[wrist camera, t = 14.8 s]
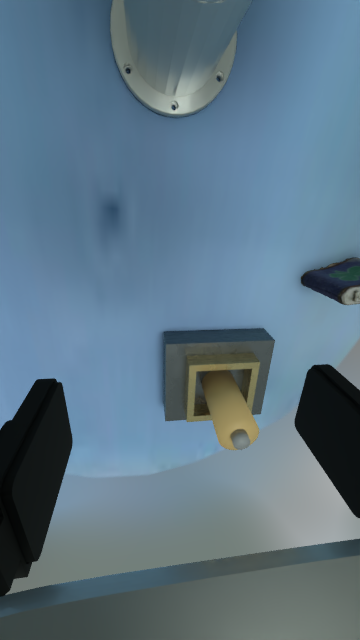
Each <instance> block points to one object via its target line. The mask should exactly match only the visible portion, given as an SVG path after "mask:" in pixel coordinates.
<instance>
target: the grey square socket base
mask: <svg viewBox="0 0 360 640" xmlns="http://www.w3.org/2000/svg"><path fill="white" fill-rule="evenodd" d="M274 343H275V340H274V339H273V338H272V337H271V336H270V335H269V334H268V333H267V331H266V330H265V329H233V330H201V331H170V332H164V412H165V421H174V420H186V421H187V422H194V421H207V420H212V418H211V415H210V411H209V408H208V405H207V402H206V398H205V395H204V392H203V388H202V380H203V378H204V376H205V375H206V374H207V373H208V372H210V371H216V370H228V371H229V372H230V373H231V374H232V375H233V377H234V379H235V381H236V383H237V385H238V387H239V389H240V391H241V393H242V395H243V397H244V399H245V401H246V403H247V405H248V407H249V409H250V411H251V413H252V415H255V414H261V410H262V404H263V399H264V394H265V389H266V384H267V379H268V373H269V368H270V363H271V358H272V353H273V348H274Z"/></svg>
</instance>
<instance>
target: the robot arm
mask: <svg viewBox="0 0 360 640" xmlns="http://www.w3.org/2000/svg"><path fill="white" fill-rule="evenodd" d="M252 1H253V0H112V6H111V12H110V33H111V41H112V48H113V52H114V56H115V60H116V63H117V66H118V68H119V71H120V74H121V76H122V78H123V79H124V81H125V83H126V85H127V87H128V88H129V89H130V91H131V92H132V93H133V95H134V96H135V97H136V98H137V99H138V100H139V101H140V102H141V103H142V104H143V105H144V106H146V107H147V108H149V109H151V110H152V111H154V112H156V113H158V114H161V115H164V116H168V117H186V116H189V115H192V114H195V113H197V112H199V111H201V110H202V109H204V108H205V107H207V106H208V105H209V104H210V103H211V102H212V101H213V100H214V99H215V98H216V96H217V95H218V94H219V92H220V91H221V90H222V88H223V86H224V85H225V83H226V81H227V79H228V77H229V74H230V71H231V69H232V66H233V62H234V58H235V53H236V44H237V28H238V26H239V25H240V23H241V21H242V19H243V17H244V15H245V14H246V12H247V10H248V8H249V6H250V4H251V2H252ZM127 69H129V70H130V71H131V73H130V74H127V73H126V70H127ZM216 78H219V79H220V82H218V81H217V80H216ZM172 106H175V107H176V110H172V108H171V107H172ZM295 427H296V429H297V431H298V432H299V434H300V436H301V437H302V438H303V440H304V441H305V443H306V444H307V446H308V447H309V449H310V450H311V452H312V453H313V455H314V456H315V458H316V459H317V461H318V462H319V464H320V465H321V467H322V468H323V470H324V471H325V473H326V474H327V475H328V477H329V479H330V480H331V481H332V483H333V484H334V486H335V487H336V489H337V490H338V492H339V493H340V495H341V496H342V498H343V499H344V501H345V502H346V504H347V505H348V507H349V508H350V510H351V511H352V512H353V514H354V515H355V516H356V517H358V518H360V390H359V389H357V388H356V387H355V386H354V385H353V384H352V383H350V382H349V381H348V380H347V379H346V378H345V377H344V376H342V375H341V374H340V373H339V372H338V371H337V370H336V369H334V368H333V367H332V366H331V365H328V364H325V365H314V366H312V367H311V369H309V370H308V372H307V375H306V379H305V383H304V387H303V391H302V394H301V398H300V402H299V406H298V410H297V413H296V417H295ZM71 449H72V434H71V428H70V423H69V418H68V412H67V407H66V401H65V396H64V391H63V386H62V383H61V382H57V381H56V379H38V380H36V381H35V383H34V385H33V386H32V388H31V390H30V391H29V393H28V395H27V396H26V398H25V399H24V401H23V403H22V404H21V406H20V408H19V409H18V411H17V413H16V414H15V416H14V418H13V419H12V420H9V421H7V422H6V423H5V424H4V425H3V426H2V428H1V430H0V640H360V539H354V540H348V541H340V542H333V543H325V544H318V545H312V546H304V547H297V548H290V549H283V550H276V551H269V552H262V553H255V554H248V555H241V556H235V557H228V558H221V559H214V560H207V561H201V562H194V563H187V564H181V565H174V566H167V567H160V568H154V569H147V570H140V571H134V572H127V573H120V574H115V575H108V576H102V577H96V578H90V579H84V580H79V581H72V582H67V583H61V584H55V585H49V586H44V587H39V588H35V589H30V590H26V591H21V592H17V593H13V594H8V595H5V594H6V593H7V592H9V591H10V588H11V585H12V582H13V579H16V578H23V577H28V574H29V571H30V567H31V564H32V562H34V561H38V559H39V557H40V554H41V552H42V548H43V544H44V541H45V538H46V534H47V531H48V528H49V524H50V521H51V517H52V514H53V511H54V507H55V504H56V500H57V497H58V493H59V490H60V486H61V483H62V480H63V476H64V473H65V469H66V466H67V463H68V459H69V456H70V452H71Z"/></svg>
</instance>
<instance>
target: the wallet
mask: <svg viewBox="0 0 360 640" xmlns="http://www.w3.org/2000/svg"><path fill="white" fill-rule="evenodd" d="M301 283H302V285H303V286H306V287H308V288H311V289H312V290H314V291H316V292H319V293H321V294H323V295H325V296H327V297H329V298H331V299H334V300H336V301H338V302H339V303H341V304H344V305H352V304H360V259H359V258H350V259H346V260H345V261H343V262H340V263H339V262H338V263H333V264H330V265H329V266H328V267H326V268H323V267H322V268H320V269H319V270H315V269H314V270H311V271H307V272H306V273H304V275H303V276H302V277H301Z"/></svg>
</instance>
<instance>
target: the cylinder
mask: <svg viewBox="0 0 360 640" xmlns="http://www.w3.org/2000/svg"><path fill="white" fill-rule="evenodd" d="M202 388H203V392H204V395H205V398H206V402H207V405H208V408H209V411H210V415H211V418H212V421H213V424H214V428H215V431H216V434H217V438H218V441H219V443H220V445H221V446H222V447H224V448H226V449H229V450H242V449H245V448H247V447H248V446H249V445H251V444H252V443H253V442H254V441H255V440H256V439H257V437H258V434H259V428H258V426H257V424H256V422H255V420H254V418H253V415H252V413H251V411H250V409H249V407H248V405H247V403H246V401H245V399H244V397H243V395H242V393H241V391H240V389H239V387H238V385H237V383H236V381H235V379H234V377H233V375H232V374H231V373H230V372H229V371H228V370H216V371H210V372H208V373H207V374H206V375H205V376H204V378H203V380H202Z"/></svg>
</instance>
